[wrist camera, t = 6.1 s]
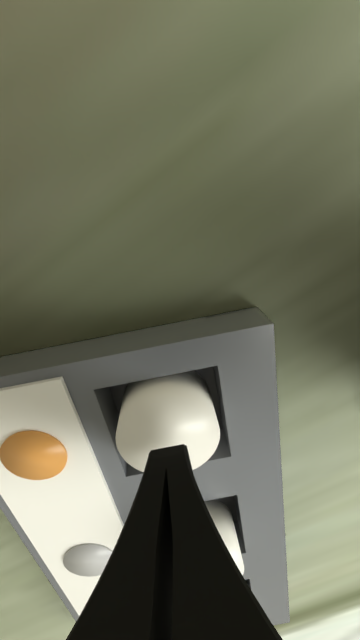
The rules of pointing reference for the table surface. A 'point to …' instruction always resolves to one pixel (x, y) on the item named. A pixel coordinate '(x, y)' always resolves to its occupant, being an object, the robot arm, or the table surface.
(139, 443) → the button
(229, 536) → the button
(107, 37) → the table surface
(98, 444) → the button board
